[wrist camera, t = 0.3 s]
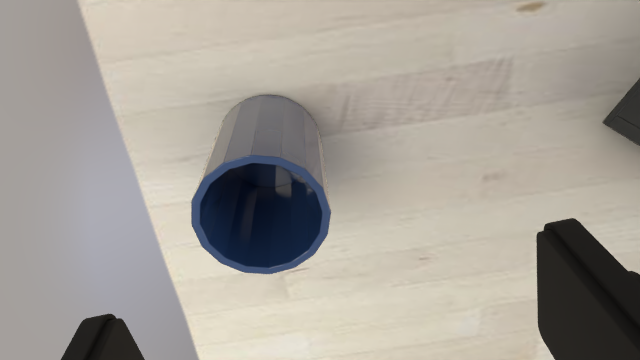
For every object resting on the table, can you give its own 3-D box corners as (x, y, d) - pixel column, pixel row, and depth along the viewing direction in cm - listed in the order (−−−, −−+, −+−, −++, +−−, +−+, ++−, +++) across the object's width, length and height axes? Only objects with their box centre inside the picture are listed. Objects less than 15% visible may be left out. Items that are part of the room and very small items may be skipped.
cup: (245, 75, 29) (226, 131, 21) (339, 124, 30) (355, 193, 22) (202, 162, 31) (170, 243, 23) (291, 203, 33) (290, 291, 25)
